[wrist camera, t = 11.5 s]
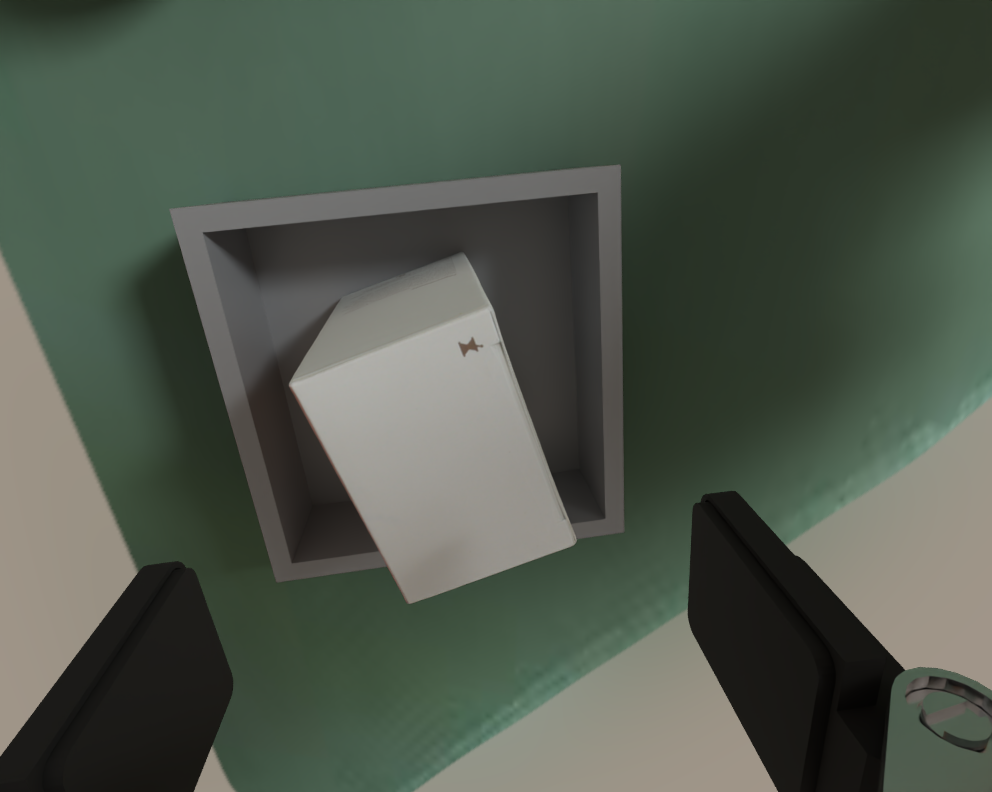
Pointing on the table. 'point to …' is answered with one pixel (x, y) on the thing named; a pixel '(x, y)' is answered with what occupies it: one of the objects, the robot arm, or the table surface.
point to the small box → (431, 430)
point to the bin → (381, 256)
